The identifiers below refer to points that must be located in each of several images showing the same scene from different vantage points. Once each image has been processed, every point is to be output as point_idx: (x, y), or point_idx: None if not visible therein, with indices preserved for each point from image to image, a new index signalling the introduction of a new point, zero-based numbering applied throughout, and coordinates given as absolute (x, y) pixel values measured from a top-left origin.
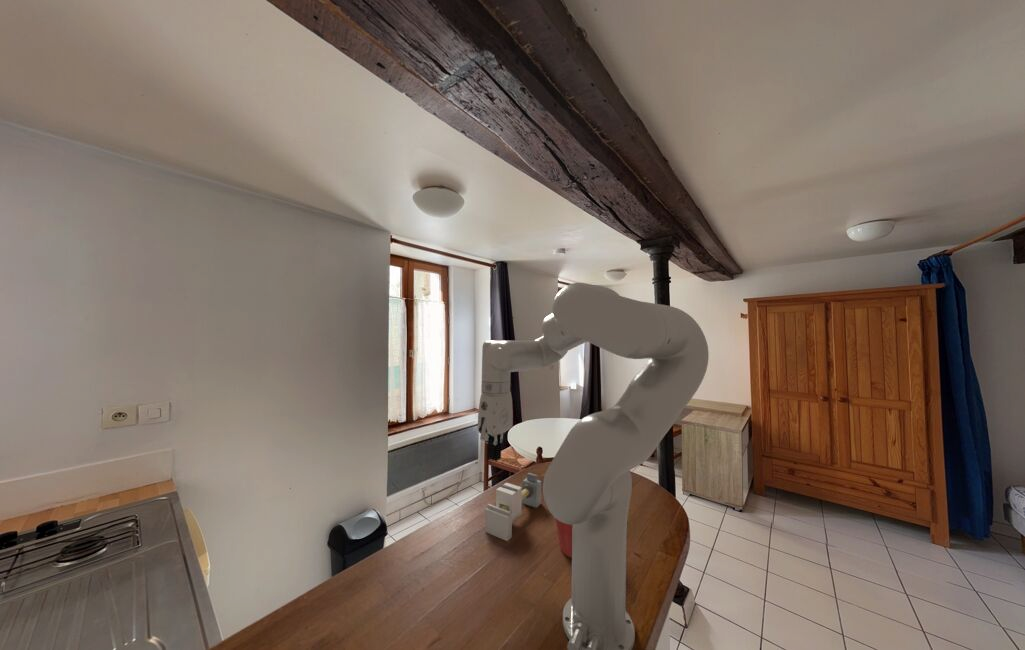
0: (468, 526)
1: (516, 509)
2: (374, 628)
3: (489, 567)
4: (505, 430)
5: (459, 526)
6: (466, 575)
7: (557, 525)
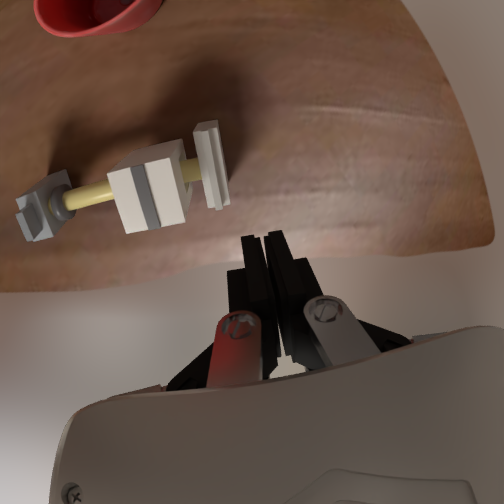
0: (241, 225)
1: (153, 149)
2: (467, 160)
3: (311, 94)
4: (258, 389)
5: None
6: (353, 117)
7: (152, 1)
